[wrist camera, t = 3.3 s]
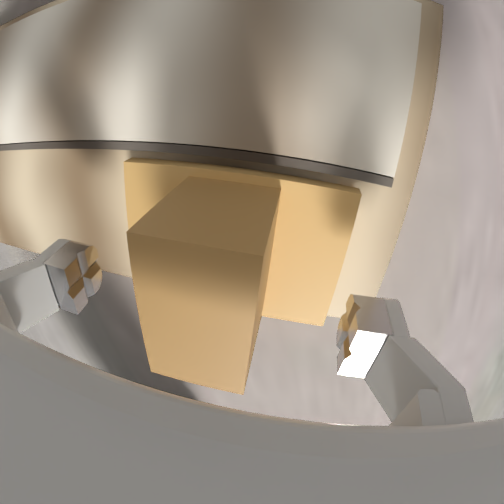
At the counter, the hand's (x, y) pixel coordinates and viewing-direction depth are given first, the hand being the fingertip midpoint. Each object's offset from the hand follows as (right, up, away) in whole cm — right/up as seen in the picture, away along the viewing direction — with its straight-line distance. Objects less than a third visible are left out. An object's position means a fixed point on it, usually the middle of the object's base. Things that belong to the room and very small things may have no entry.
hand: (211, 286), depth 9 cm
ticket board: (-5, +6, +2) cm, 8 cm away
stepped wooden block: (0, +1, +2) cm, 3 cm away
